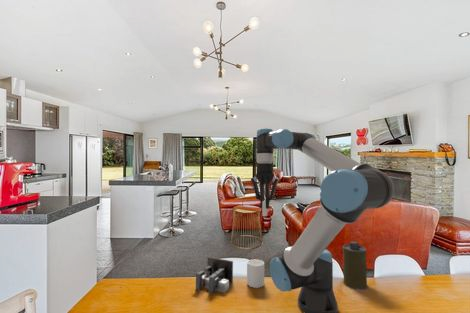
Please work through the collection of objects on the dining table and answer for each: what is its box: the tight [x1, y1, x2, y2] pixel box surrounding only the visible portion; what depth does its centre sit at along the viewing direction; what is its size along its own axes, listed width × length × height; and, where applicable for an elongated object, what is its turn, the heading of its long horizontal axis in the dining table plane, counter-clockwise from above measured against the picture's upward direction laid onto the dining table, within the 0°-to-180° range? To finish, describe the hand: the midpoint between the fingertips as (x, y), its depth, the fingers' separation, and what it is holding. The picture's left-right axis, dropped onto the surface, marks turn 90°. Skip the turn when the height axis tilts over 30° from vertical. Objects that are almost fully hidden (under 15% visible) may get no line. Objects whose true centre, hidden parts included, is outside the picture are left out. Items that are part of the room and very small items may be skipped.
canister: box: [342, 240, 368, 291], centre depth 117 cm, size 11×10×20 cm
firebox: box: [195, 256, 234, 295], centre depth 114 cm, size 14×14×10 cm
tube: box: [202, 273, 230, 294], centre depth 112 cm, size 14×4×4 cm, turn 64°
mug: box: [246, 258, 265, 289], centre depth 117 cm, size 12×8×10 cm
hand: (264, 215), depth 107 cm, fingers closed
